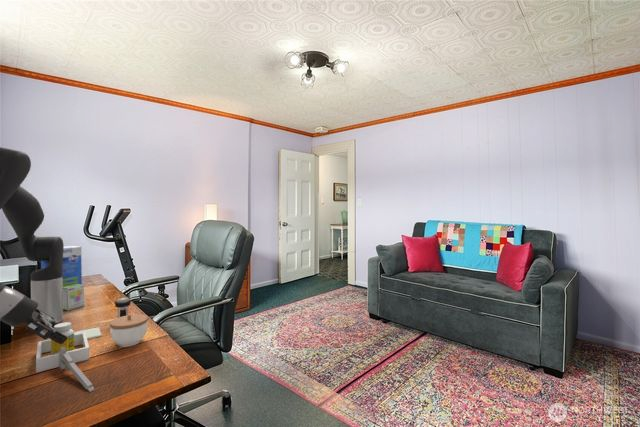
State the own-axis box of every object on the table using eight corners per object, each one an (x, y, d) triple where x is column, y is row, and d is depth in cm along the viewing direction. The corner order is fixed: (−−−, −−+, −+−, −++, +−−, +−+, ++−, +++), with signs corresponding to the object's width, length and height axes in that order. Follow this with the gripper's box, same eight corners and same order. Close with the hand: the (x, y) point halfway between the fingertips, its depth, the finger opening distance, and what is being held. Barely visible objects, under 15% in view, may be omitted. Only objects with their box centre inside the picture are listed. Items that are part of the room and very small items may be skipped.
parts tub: (36, 372, 84) (35, 359, 84) (38, 353, 95) (38, 341, 95) (89, 359, 92) (89, 347, 92) (85, 342, 103) (85, 332, 103)
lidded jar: (108, 342, 104) (107, 314, 103) (144, 333, 110) (144, 307, 110) (112, 353, 95) (111, 323, 95) (151, 344, 102) (151, 315, 102)
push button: (110, 329, 114) (110, 302, 114) (110, 325, 118) (110, 298, 118) (131, 325, 118) (131, 299, 117) (130, 321, 122) (130, 296, 122)
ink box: (68, 311, 134) (67, 280, 133) (61, 310, 135) (61, 279, 135) (84, 306, 140) (84, 276, 140) (78, 305, 141) (78, 276, 141)
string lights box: (74, 297, 153) (73, 245, 153) (82, 299, 150) (82, 246, 149) (40, 305, 141) (40, 248, 141) (49, 307, 138) (48, 249, 137)
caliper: (58, 368, 87) (58, 346, 87) (63, 367, 88) (62, 345, 88) (89, 393, 76) (89, 367, 75) (94, 391, 77) (94, 365, 76)
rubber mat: (68, 343, 102) (68, 342, 102) (67, 334, 109) (67, 333, 109) (101, 336, 108) (101, 334, 108) (98, 328, 115) (98, 327, 115)
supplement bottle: (54, 354, 95) (54, 322, 95) (76, 350, 97) (76, 320, 97) (48, 362, 90) (48, 329, 90) (71, 358, 92) (71, 326, 92)
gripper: (21, 300, 82) (76, 332, 90) (25, 289, 93) (74, 319, 101) (-8, 325, 79) (52, 356, 87) (0, 311, 90) (53, 339, 97)
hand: (64, 336), depth 94 cm, fingers open, 8 cm apart
